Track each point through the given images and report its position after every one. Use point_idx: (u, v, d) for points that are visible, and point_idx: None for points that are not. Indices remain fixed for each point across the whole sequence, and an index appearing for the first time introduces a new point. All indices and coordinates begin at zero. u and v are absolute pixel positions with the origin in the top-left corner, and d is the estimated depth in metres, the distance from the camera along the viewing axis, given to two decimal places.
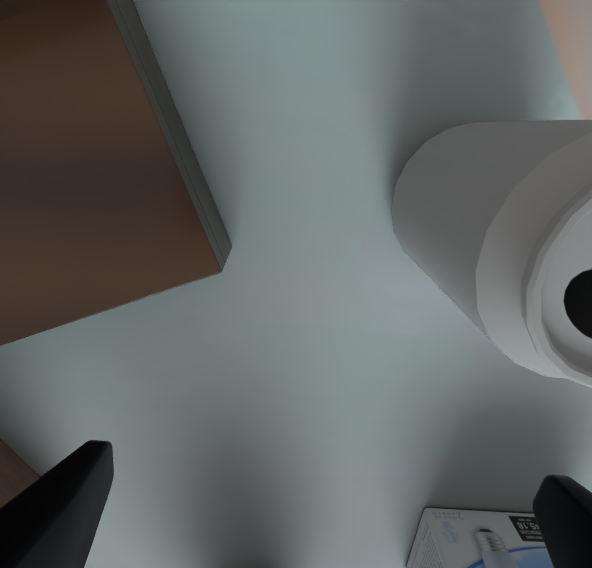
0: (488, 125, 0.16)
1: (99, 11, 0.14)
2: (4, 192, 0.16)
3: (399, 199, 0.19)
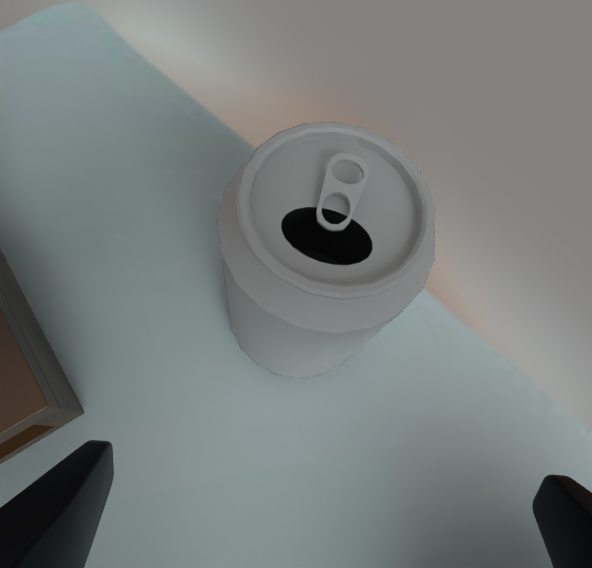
0: None
1: None
2: None
3: None
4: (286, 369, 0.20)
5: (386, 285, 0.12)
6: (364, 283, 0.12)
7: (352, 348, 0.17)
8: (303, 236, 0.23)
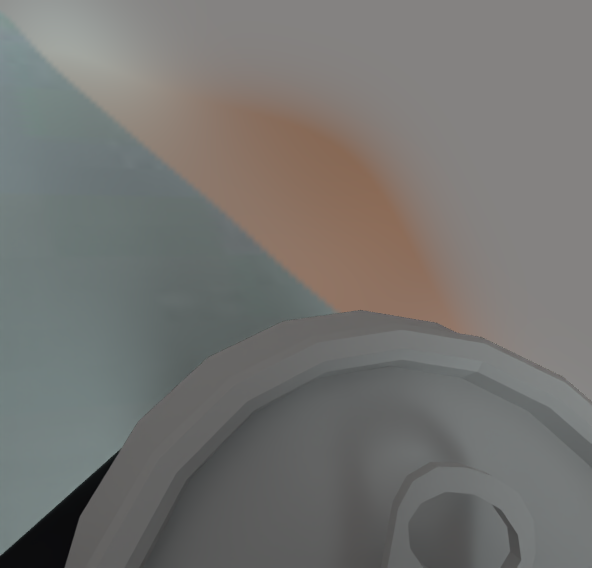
0: None
1: None
2: None
3: None
4: None
5: None
6: None
7: None
8: None
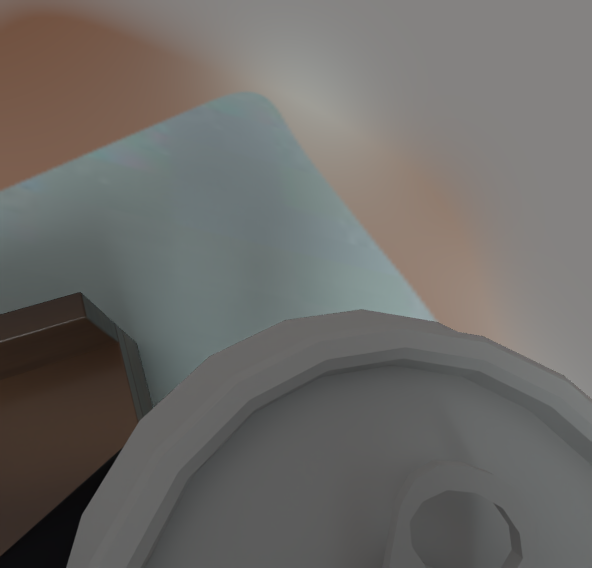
0: None
1: (114, 363, 0.18)
2: None
3: None
4: None
5: None
6: None
7: None
8: None
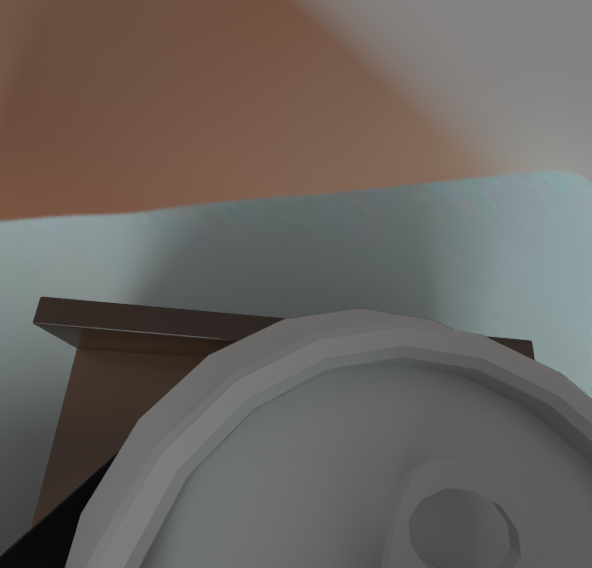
0: None
1: None
2: None
3: None
4: None
5: None
6: None
7: None
8: None
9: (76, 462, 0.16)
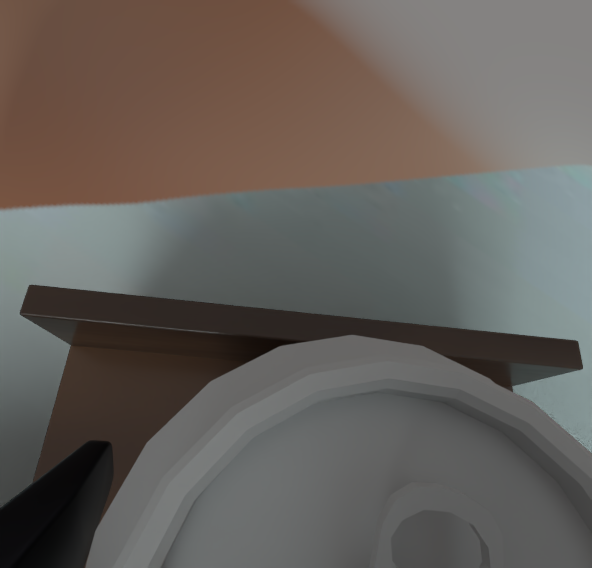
0: None
1: None
2: None
3: None
4: None
5: None
6: None
7: None
8: None
9: None
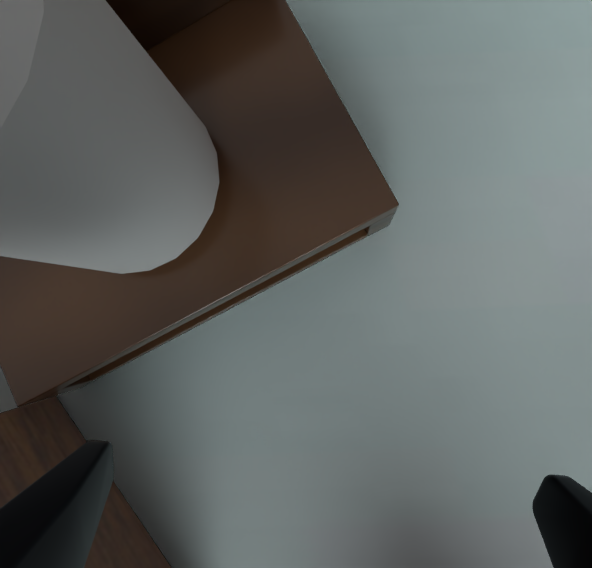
0: None
1: None
2: None
3: None
4: (132, 261, 0.14)
5: None
6: None
7: (125, 188, 0.11)
8: None
9: None
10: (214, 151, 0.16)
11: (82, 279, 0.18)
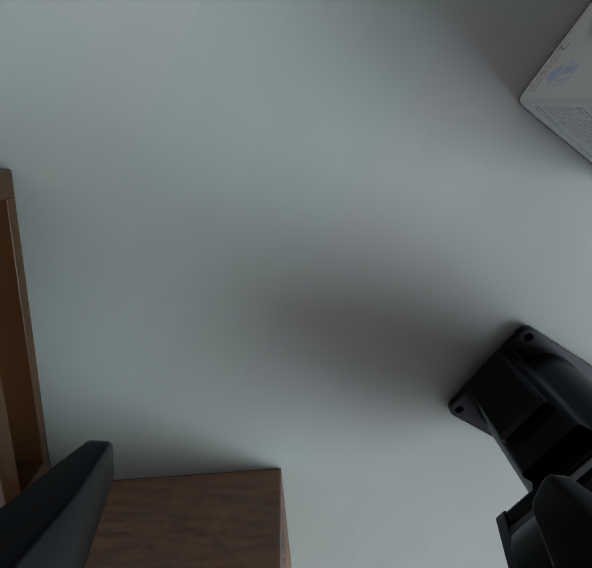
0: None
1: None
2: None
3: None
4: None
5: None
6: None
7: None
8: None
9: None
10: None
11: None
